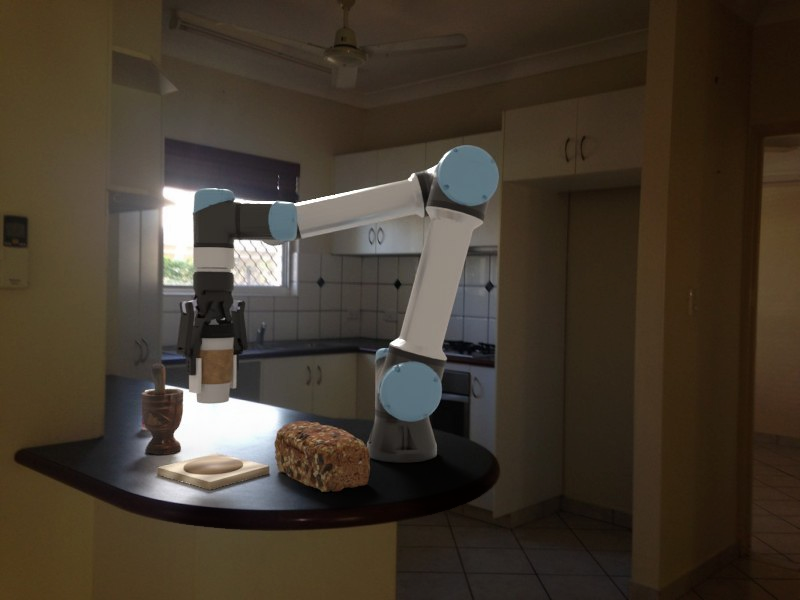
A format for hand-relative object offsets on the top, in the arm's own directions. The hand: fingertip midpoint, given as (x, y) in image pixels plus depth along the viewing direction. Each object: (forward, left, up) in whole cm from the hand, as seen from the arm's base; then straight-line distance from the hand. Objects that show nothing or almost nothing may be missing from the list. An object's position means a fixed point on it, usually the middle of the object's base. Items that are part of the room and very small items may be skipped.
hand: (213, 389), depth 133 cm
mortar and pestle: (+22, -4, -17) cm, 28 cm away
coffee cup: (0, 0, -2) cm, 2 cm away
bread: (-18, -11, -17) cm, 27 cm away
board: (0, 0, -16) cm, 16 cm away
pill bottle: (+46, -17, -17) cm, 52 cm away
